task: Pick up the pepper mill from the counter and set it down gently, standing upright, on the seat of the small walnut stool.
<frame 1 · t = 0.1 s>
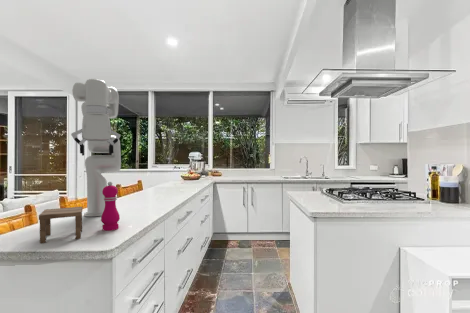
hand: (97, 155, 110), 31 cm above the countertop, tool pointing down, fingers open, 9 cm apart
walnut stool: (62, 236, 108), on the countertop
pepper mill: (110, 229, 119), on the countertop
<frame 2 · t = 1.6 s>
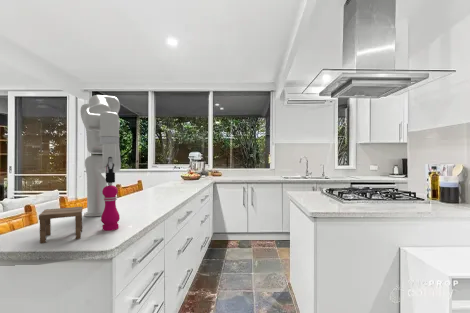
hand: (110, 182, 118), 20 cm above the countertop, tool pointing down, fingers open, 9 cm apart
nothing on the countertop moved.
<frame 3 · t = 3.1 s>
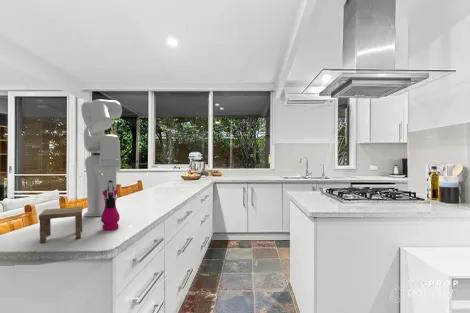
hand: (110, 206, 119), 9 cm above the countertop, tool pointing down, fingers closed on pepper mill, 5 cm apart
pepper mill: (110, 229, 119), on the countertop, touching gripper
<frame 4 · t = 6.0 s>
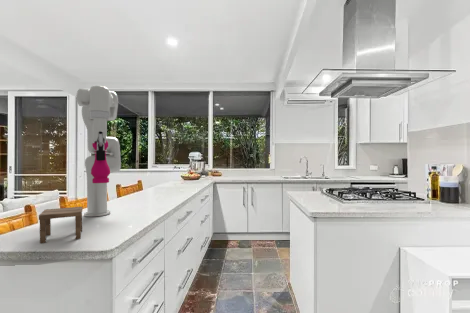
hand: (100, 159, 117), 29 cm above the countertop, tool pointing down, fingers closed on pepper mill, 5 cm apart
pepper mill: (100, 183, 117), point 20 cm above the countertop, touching gripper
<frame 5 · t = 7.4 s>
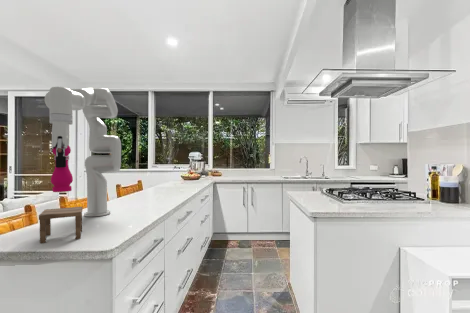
hand: (61, 166, 108), 27 cm above the countertop, tool pointing down, fingers closed on pepper mill, 5 cm apart
pepper mill: (62, 191, 108), point 17 cm above the countertop, touching gripper
when the fingers open (21 cm above the countertop, at t = 8.8 s): pepper mill drops 1 cm, resting on walnut stool.
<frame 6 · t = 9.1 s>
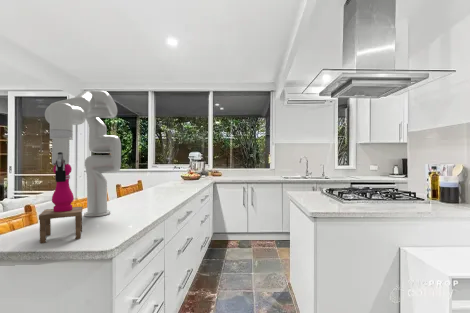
hand: (62, 180, 108), 21 cm above the countertop, tool pointing down, fingers open, 8 cm apart
pepper mill: (63, 210, 108), point 10 cm above the countertop, touching walnut stool
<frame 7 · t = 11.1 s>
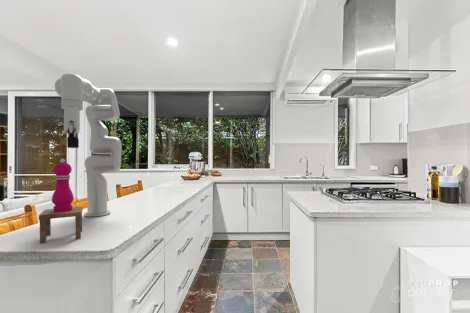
hand: (73, 147, 115), 34 cm above the countertop, tool pointing down, fingers open, 9 cm apart
nothing on the countertop moved.
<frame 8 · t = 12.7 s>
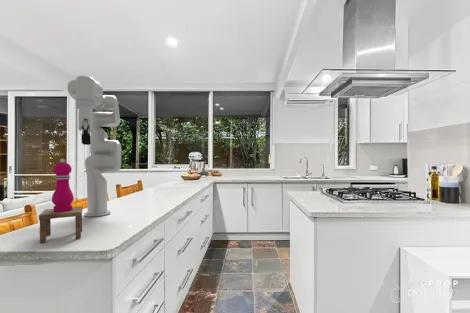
hand: (86, 144, 123), 36 cm above the countertop, tool pointing down, fingers open, 9 cm apart
nothing on the countertop moved.
at the end: pepper mill inside the target area on the walnut stool (0.4 cm from its centre), point 9.8 cm above the walnut stool's base; pepper mill tilted 0°; the gripper is holding nothing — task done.
